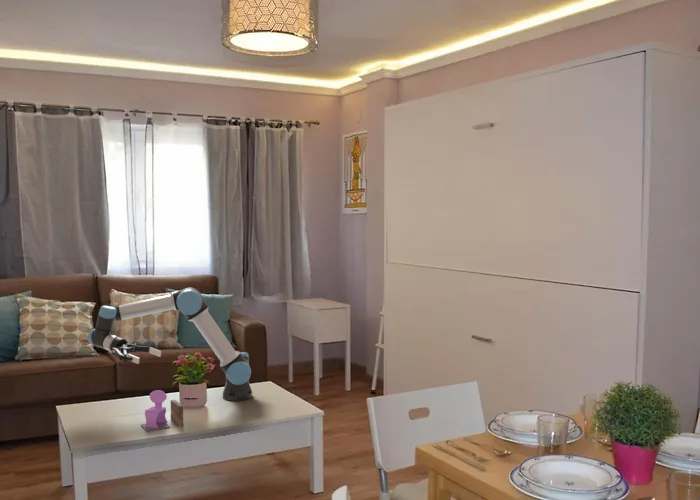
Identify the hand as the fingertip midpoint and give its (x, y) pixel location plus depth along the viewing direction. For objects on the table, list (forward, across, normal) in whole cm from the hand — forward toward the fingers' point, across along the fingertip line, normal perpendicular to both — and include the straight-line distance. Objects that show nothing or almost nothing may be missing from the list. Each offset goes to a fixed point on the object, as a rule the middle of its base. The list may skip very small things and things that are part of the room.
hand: (149, 357), depth 300 cm
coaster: (+14, +8, -26) cm, 31 cm away
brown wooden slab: (+19, -1, -26) cm, 32 cm away
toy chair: (+14, +8, -26) cm, 30 cm away
